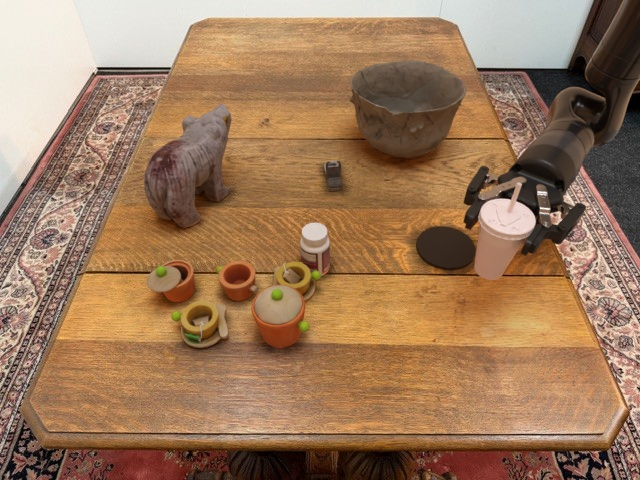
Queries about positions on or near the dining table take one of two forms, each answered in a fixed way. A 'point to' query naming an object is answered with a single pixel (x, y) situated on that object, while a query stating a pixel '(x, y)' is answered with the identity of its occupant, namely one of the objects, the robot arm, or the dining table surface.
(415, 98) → the bowl
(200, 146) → the sculpture
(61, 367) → the dining table surface
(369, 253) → the dining table surface
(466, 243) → the coaster
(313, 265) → the pill bottle
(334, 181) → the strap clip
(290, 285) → the toy tea set
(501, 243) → the smoothie
